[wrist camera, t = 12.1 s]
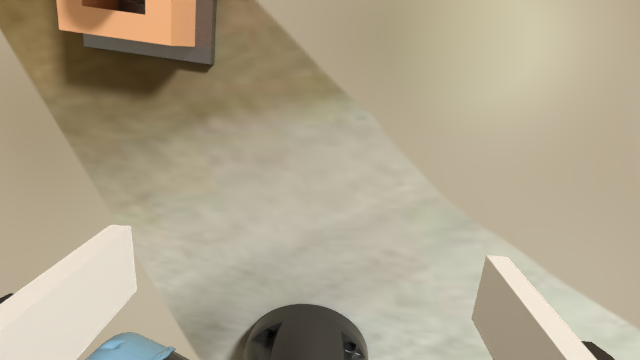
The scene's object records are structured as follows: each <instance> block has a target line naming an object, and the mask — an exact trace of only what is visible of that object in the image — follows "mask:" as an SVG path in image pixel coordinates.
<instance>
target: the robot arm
mask: <svg viewBox="0 0 640 360" xmlns="http://www.w3.org/2000/svg"><path fill="white" fill-rule="evenodd" d="M136 291H137V284H136V274H135V264H134V253H133V243H132V233H131V226H121V225H110V226H108V227H107V228H105V229H104V230H102V231H101V232H100V233H98V234H97V235H96V236H94V237H93V238H91V239H90V240H89V241H87V242H86V243H85V244H83V245H82V246H80V247H79V248H78V249H76V250H75V251H73V252H72V253H71V254H69V255H68V256H66V257H65V258H64V259H62V260H61V261H59V262H58V263H57V264H55V265H54V266H53V267H51V268H50V269H48V270H47V271H46V272H44V273H43V274H41V275H40V276H39V277H37V278H36V279H35V280H33V281H32V282H31V283H29V284H28V285H26V286H25V287H23V288H22V289H21V290H19V291H18V292H17V293H15V294H11V293H10V294H8V295H6V296H4V297H2V298H0V360H76V359H77V358H78V357H79V356H80V355H81V354H82V352H83V351H84V350H85V349H86V348H87V347H88V345H89V344H90V343H91V342H92V341H93V340H94V339H95V337H96V336H97V335H98V334H99V333H100V332H101V331H102V330H103V328H104V327H105V326H106V325H107V324H108V323H109V322H110V320H111V319H112V318H113V317H114V316H115V315H116V313H117V312H118V311H119V310H120V309H121V308H122V307H123V306H124V304H125V303H126V302H127V301H128V300H129V299H130V298H131V296H132V295H133V294H134V293H135V292H136ZM472 320H473V322H474V324H475V326H476V328H477V330H478V332H479V333H480V335H481V337H482V339H483V341H484V343H485V345H486V347H487V349H488V351H489V353H490V354H491V356H492V358H493V360H614V358H613V357H612V356H610V355H609V354H607V353H606V352H605V351H603V350H602V349H600V348H599V347H598V346H596V345H595V344H593V343H592V342H585V341H580V340H579V338H578V337H577V336H576V335H575V334H574V333H573V332H572V330H571V329H570V328H569V327H568V326H567V325H566V324H565V322H564V321H563V320H562V319H561V318H560V317H559V316H558V314H557V313H556V312H555V311H554V310H553V309H552V307H551V306H550V305H549V304H548V303H547V302H546V301H545V299H544V298H543V297H542V296H541V295H540V294H539V293H538V291H537V290H536V289H535V288H534V287H533V286H532V285H531V283H530V282H529V281H528V280H527V279H526V278H525V277H524V275H523V274H522V273H521V272H520V271H519V270H518V269H517V267H516V266H515V265H514V264H513V263H512V262H511V260H510V259H509V258H508V257H501V256H489V255H486V259H485V263H484V267H483V272H482V276H481V280H480V285H479V289H478V293H477V298H476V302H475V306H474V310H473V315H472ZM174 351H175V348H173V347H168V348H167V347H165V346H163V345H161V344H159V343H157V342H155V341H152V340H150V339H148V338H146V337H144V336H141V335H140V334H137V333H129V332H128V333H122V334H118V335H116V336H114V337H112V338H111V339H109V340H107V341H106V342H105V343H103V344H102V345H101V346H100V347H99V348H97V349H96V350H95V351H94V352H93V353H92V354H91V355H90V356H89V357H88V358H87V359H85V360H189V359H187V358H185V357H183V356H181V355H180V354H178V353H176V352H174ZM243 360H368V352H367V346H366V343H365V340H364V338H363V336H362V334H361V333H360V331H359V330H358V328H357V327H356V326H355V325H354V324H353V323H352V322H351V321H350V320H348V319H347V318H346V317H344V316H343V315H341V314H339V313H338V312H336V311H333V310H331V309H328V308H325V307H322V306H317V305H310V304H296V305H289V306H285V307H281V308H278V309H276V310H273V311H272V312H270V313H268V314H266V315H265V316H264V317H262V318H261V319H260V320H259V321H258V322H257V323H256V324H255V325H254V327H253V328H252V330H251V332H250V334H249V337H248V340H247V343H246V346H245V349H244V353H243Z"/></svg>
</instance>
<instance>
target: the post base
mask: <svg viewBox="0 0 640 360" xmlns="http://www.w3.org/2000/svg"><path fill="white" fill-rule="evenodd" d="M216 1H217V0H196V14H195V47H190V46H169V45H162V44H155V43H148V42H141V41H134V40H127V39H121V38H114V37H107V36H100V35H93V34H86V33H83V42H84V46H86V47H93V48H100V49H107V50H114V51H120V52H127V53H134V54H141V55H148V56H155V57H162V58H169V59H176V60H183V61H190V62H197V63H204V64H214V54H215V27H216ZM118 4H119V11H122V12H129V13H136V14H143V15H146V14H145V0H118Z"/></svg>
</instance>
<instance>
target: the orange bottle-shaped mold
mask: <svg viewBox="0 0 640 360" xmlns="http://www.w3.org/2000/svg"><path fill="white" fill-rule="evenodd" d="M57 11H58V22H59V30H65V31H72V32H79V33H86V34H93V35H100V36H107V37H114V38H121V39H127V40H134V41H141V42H148V43H155V44H162V45H169V46H190V47H195V14H196V0H145V14H146V15H143V14H136V13H129V12H122V11H119V4H118V0H57Z"/></svg>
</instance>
